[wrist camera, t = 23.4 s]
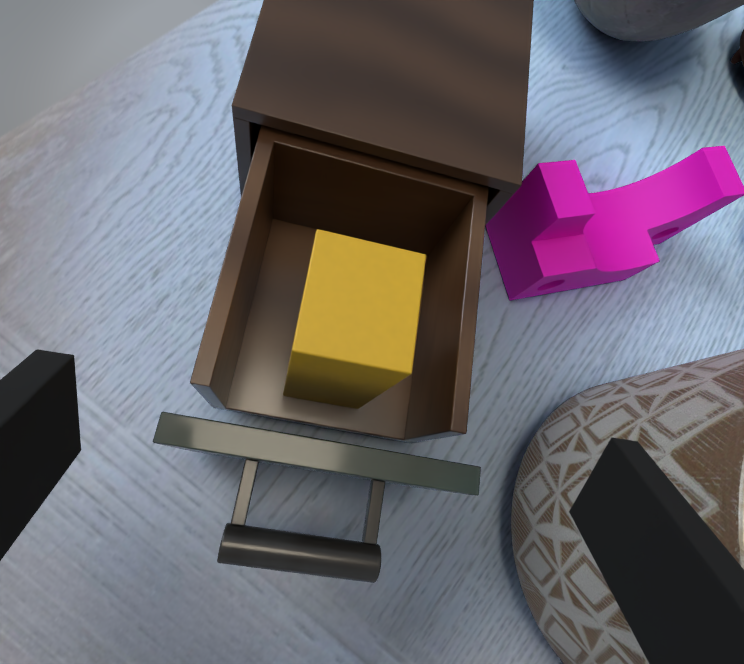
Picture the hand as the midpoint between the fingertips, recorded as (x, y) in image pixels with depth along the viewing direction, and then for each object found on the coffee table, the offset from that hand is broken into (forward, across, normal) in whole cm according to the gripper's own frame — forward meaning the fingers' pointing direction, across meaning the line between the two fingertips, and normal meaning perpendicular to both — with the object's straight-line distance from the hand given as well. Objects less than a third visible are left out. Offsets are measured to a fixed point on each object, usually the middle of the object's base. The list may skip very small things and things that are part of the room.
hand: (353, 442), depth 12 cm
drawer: (+15, 0, -8) cm, 17 cm away
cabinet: (+28, +1, +4) cm, 29 cm away
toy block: (+26, +18, +1) cm, 32 cm away
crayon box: (+15, 0, -7) cm, 17 cm away
